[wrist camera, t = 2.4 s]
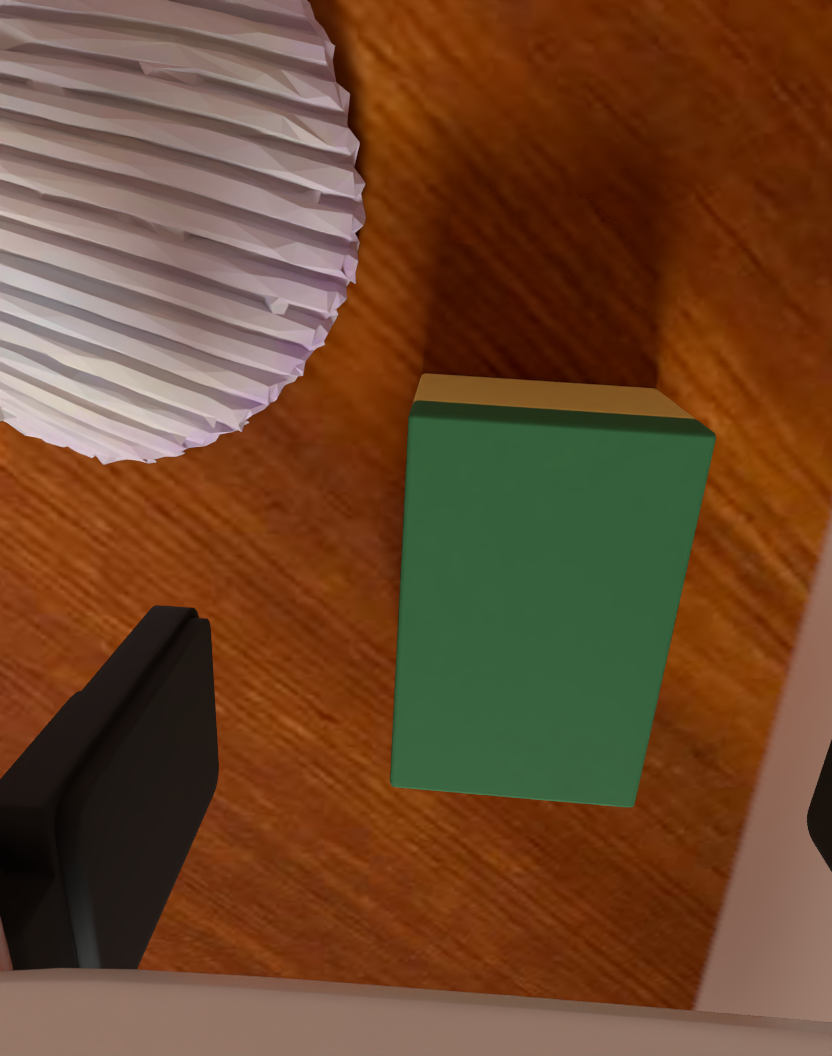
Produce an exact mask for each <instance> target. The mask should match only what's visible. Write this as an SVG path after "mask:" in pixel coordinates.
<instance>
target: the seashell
mask: <svg viewBox="0 0 832 1056" xmlns="http://www.w3.org/2000/svg"><path fill="white" fill-rule="evenodd" d="M334 50H335V45H333V44H332V43H331V41H330V39H329V38H328V36H327V34H326V32H325V30H324V28H323V27H322V26H321V25H320V24H319V23H318V22H317V21H316V20H315V17H314V14H313V11H312V8H311V5H310V3H309V2H308V1H307V0H0V421H2V420H3V421H4V422H7V423H8V424H10V425H11V426H12V427H14V428H15V429H17V430H18V431H20V432H21V433H22V434H24V435H25V436H31V437H37V438H40V439H42V440H44V441H45V442H47V443H50V444H54V445H57V446H60V447H66V446H68V447H70V448H71V449H73V450H74V451H76V452H79V453H81V454H84V455H86V456H88V457H91V458H93V457H94V456H95V455H96V456H97V458H98V459H99V460H100V461H101V462H102V464H103V465H104V464H108V463H111V462H115V461H119V460H125V459H130V460H138V461H142V462H145V463H156V460H155V459H157V458H161V457H166V456H172V457H177V456H179V455H182V454H185V452H184V450H185V449H187V448H191V447H201V446H206V445H208V444H210V443H213V442H215V441H216V440H217V438H218V436H219V434H224V433H229V432H234V431H236V430H239V431H241V432H242V429H243V427H244V425H245V424H248V423H249V422H248V421H247V419H248V418H249V417H251V416H252V415H254V414H256V413H258V412H260V411H262V410H264V409H265V408H266V407H267V406H268V405H269V404H270V403H271V402H273V401H276V399H277V397H278V396H279V394H280V392H281V391H282V389H283V387H284V386H285V385H286V384H289V383H291V382H294V381H295V380H296V379H297V377H298V376H303V372H304V367H305V362H306V360H307V359H308V358H309V356H310V355H311V354H312V353H313V351H314V350H315V349H316V348H318V347H321V346H323V345H325V344H324V340H325V338H326V336H327V334H328V333H329V331H330V329H331V327H332V326H333V324H334V322H335V320H336V318H337V316H338V313H337V310H336V309H337V308H338V307H339V306H340V305H341V304H342V303H343V302H344V301H345V300H346V299H347V288H346V287H347V285H348V284H349V282H350V281H352V282H353V283H354V284H355V271H356V268H357V264H358V247H359V243H360V242H359V240H358V238H357V236H356V234H355V232H357V231H358V230H359V229H360V228H361V227H363V225H364V222H365V220H366V215H365V211H364V206H363V201H362V196H361V193H362V190H363V188H364V186H365V182H364V180H363V179H362V177H361V176H360V175H359V173H358V172H357V171H356V170H355V168H354V166H355V161H356V157H357V153H358V149H359V145H360V142H359V141H358V139H357V138H356V137H355V136H354V134H353V133H352V132H351V130H350V129H349V128H348V126H347V120H348V109H349V100H350V93H349V92H347V91H346V90H345V89H344V88H343V87H341V86H340V85H339V84H338V83H337V82H336V78H335V72H334V66H333V56H334Z"/></svg>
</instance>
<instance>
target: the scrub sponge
mask: <svg viewBox="0 0 832 1056" xmlns="http://www.w3.org/2000/svg"><path fill="white" fill-rule="evenodd" d="M715 440H716V436H715V433H714V432H712V431H711V430H710V429H708V428H707V427H706V426H704V425H703V424H702V423H700V422H699V421H698V420H696V419H695V418H694V417H693V416H691V415H690V414H689V413H687V412H686V411H685V410H683V409H682V408H681V407H679V406H678V405H677V404H675V403H674V402H673V401H672V400H670V399H669V398H668V397H666V396H665V395H664V394H662V393H661V392H660V391H658V390H657V389H655V388H641V387H626V386H610V385H595V384H580V383H565V382H549V381H534V380H519V379H504V378H488V377H473V376H458V375H443V374H427V373H425V374H422V376H421V378H420V381H419V385H418V388H417V391H416V394H415V398H414V401H413V405H412V408H411V411H410V414H409V418H408V437H407V457H406V476H405V496H404V516H403V535H402V555H401V574H400V594H399V614H398V633H397V653H396V672H395V692H394V712H393V731H392V751H391V770H390V783H391V785H392V786H393V787H399V788H411V789H422V790H434V791H446V792H457V793H469V794H480V795H492V796H503V797H515V798H526V799H538V800H549V801H561V802H572V803H584V804H595V805H607V806H618V807H633V806H634V804H635V799H636V795H637V790H638V786H639V781H640V777H641V772H642V768H643V763H644V759H645V754H646V750H647V746H648V741H649V737H650V732H651V728H652V723H653V719H654V714H655V710H656V705H657V701H658V696H659V692H660V687H661V683H662V678H663V674H664V669H665V665H666V660H667V656H668V651H669V647H670V642H671V638H672V633H673V629H674V624H675V620H676V615H677V611H678V606H679V602H680V597H681V593H682V588H683V584H684V579H685V575H686V570H687V566H688V561H689V557H690V552H691V548H692V543H693V539H694V534H695V530H696V525H697V521H698V516H699V512H700V507H701V503H702V498H703V494H704V489H705V485H706V480H707V476H708V472H709V467H710V463H711V458H712V454H713V449H714V445H715Z"/></svg>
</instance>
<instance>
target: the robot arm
mask: <svg viewBox="0 0 832 1056" xmlns="http://www.w3.org/2000/svg"><path fill="white" fill-rule="evenodd" d="M218 773H219V761H218V745H217V728H216V711H215V694H214V677H213V660H212V643H211V628H210V623H209V620H208V619H203V618H199V616H198V613H197V611H196V609H195V608H187V607H173V606H159V605H157V606H154V607H152V608H151V609H150V610H149V612H148V613H147V614H146V615H145V616H144V617H143V619H142V620H141V621H140V622H139V623H138V625H137V626H136V627H135V628H134V629H133V630H132V632H131V633H130V634H129V635H128V636H127V638H126V639H125V640H124V641H123V642H122V644H121V645H120V646H119V647H118V648H117V649H116V651H115V652H114V653H113V654H112V655H111V657H110V658H109V659H108V660H107V661H106V662H105V664H104V665H103V666H102V667H101V668H100V670H99V671H98V672H97V673H96V674H95V676H94V677H93V678H92V679H91V680H90V681H89V683H88V684H87V685H86V686H85V687H84V689H83V690H82V691H79V692H77V693H75V694H74V695H73V696H72V697H71V698H70V699H69V700H68V701H67V702H66V703H65V704H64V706H63V707H62V708H61V709H60V710H59V712H58V713H57V714H56V715H55V716H54V717H53V719H52V720H51V721H50V722H49V723H48V724H47V726H46V727H45V728H44V729H43V730H42V731H41V733H40V734H39V735H38V736H37V737H36V738H35V740H34V741H33V742H32V743H31V744H30V745H29V747H28V748H27V749H26V750H25V751H24V752H23V754H22V755H21V756H20V757H19V758H18V759H17V761H16V762H15V763H14V764H13V765H12V766H11V768H10V769H9V770H8V771H7V772H6V773H5V775H4V776H3V777H2V778H1V779H0V1056H832V1022H820V1021H809V1020H798V1019H786V1018H774V1017H762V1016H750V1015H738V1014H727V1013H715V1012H703V1011H691V1010H679V1009H667V1008H655V1007H643V1006H631V1005H619V1004H607V1003H594V1002H582V1001H570V1000H558V999H546V998H534V997H521V996H509V995H496V994H483V993H470V992H457V991H444V990H431V989H418V988H405V987H392V986H379V985H366V984H353V983H340V982H327V981H314V980H301V979H288V978H273V977H256V976H239V975H222V974H205V973H188V972H171V971H154V970H138V969H137V968H138V966H139V963H140V961H141V959H142V957H143V954H144V952H145V950H146V947H147V945H148V943H149V941H150V938H151V936H152V934H153V931H154V929H155V927H156V925H157V922H158V920H159V918H160V916H161V913H162V911H163V909H164V906H165V904H166V902H167V900H168V897H169V895H170V893H171V890H172V888H173V886H174V884H175V881H176V879H177V877H178V874H179V872H180V870H181V868H182V865H183V863H184V861H185V858H186V856H187V854H188V852H189V849H190V847H191V845H192V843H193V840H194V838H195V836H196V833H197V831H198V829H199V827H200V824H201V822H202V820H203V817H204V815H205V813H206V811H207V808H208V806H209V804H210V801H211V799H212V797H213V795H214V792H215V789H216V785H217V780H218ZM807 825H808V830H809V834H810V836H811V838H812V841H813V842H814V844H815V846H816V847H817V849H818V850H819V852H820V853H821V855H822V857H823V858H824V860H825V862H826V863H827V865H828V867H829V868H830V870H831V871H832V740H831V743H830V747H829V749H828V752H827V755H826V759H825V761H824V764H823V767H822V770H821V773H820V777H819V780H818V783H817V785H816V788H815V791H814V794H813V798H812V800H811V803H810V807H809V810H808V815H807Z"/></svg>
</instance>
